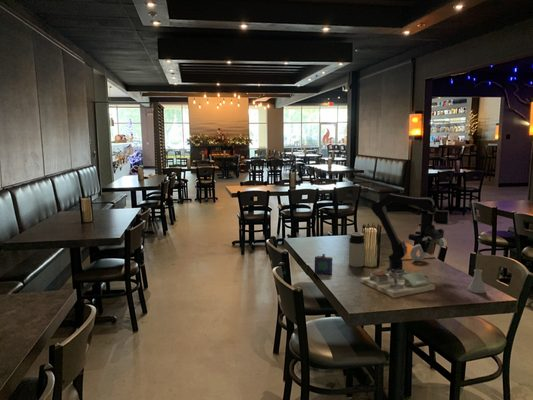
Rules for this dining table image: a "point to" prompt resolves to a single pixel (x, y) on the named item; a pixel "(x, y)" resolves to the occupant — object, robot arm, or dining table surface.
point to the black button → (398, 271)
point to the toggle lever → (394, 275)
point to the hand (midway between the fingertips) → (425, 252)
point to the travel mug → (356, 249)
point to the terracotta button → (379, 273)
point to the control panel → (389, 286)
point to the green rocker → (416, 279)
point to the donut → (414, 253)
